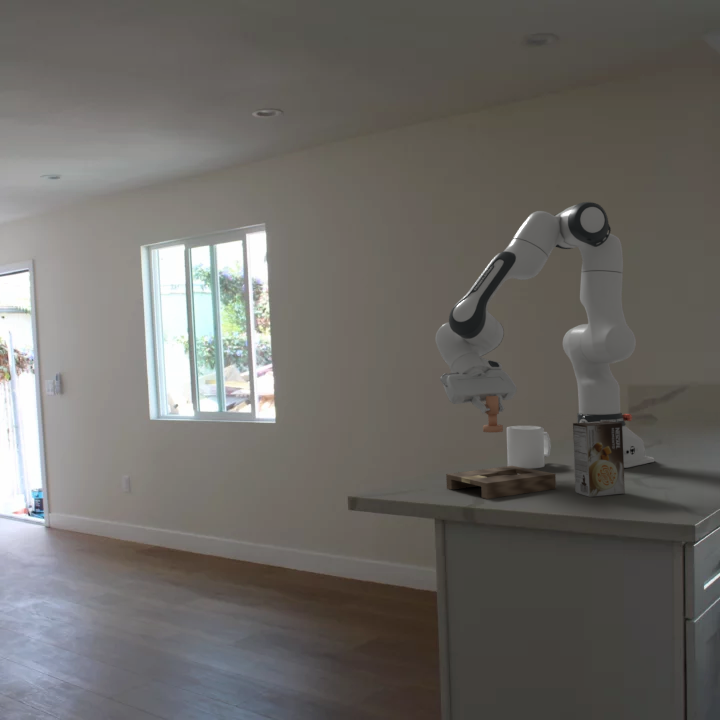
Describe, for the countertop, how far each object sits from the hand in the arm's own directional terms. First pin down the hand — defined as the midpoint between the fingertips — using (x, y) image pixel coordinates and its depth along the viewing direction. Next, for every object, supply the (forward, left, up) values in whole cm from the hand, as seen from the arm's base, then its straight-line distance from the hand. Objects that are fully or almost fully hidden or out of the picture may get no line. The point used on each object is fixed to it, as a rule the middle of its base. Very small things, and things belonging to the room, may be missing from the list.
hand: (494, 411), depth 205 cm
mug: (-20, -11, -17) cm, 29 cm away
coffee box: (-6, +30, -17) cm, 35 cm away
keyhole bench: (+8, +12, -17) cm, 23 cm away
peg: (0, -1, -5) cm, 5 cm away
